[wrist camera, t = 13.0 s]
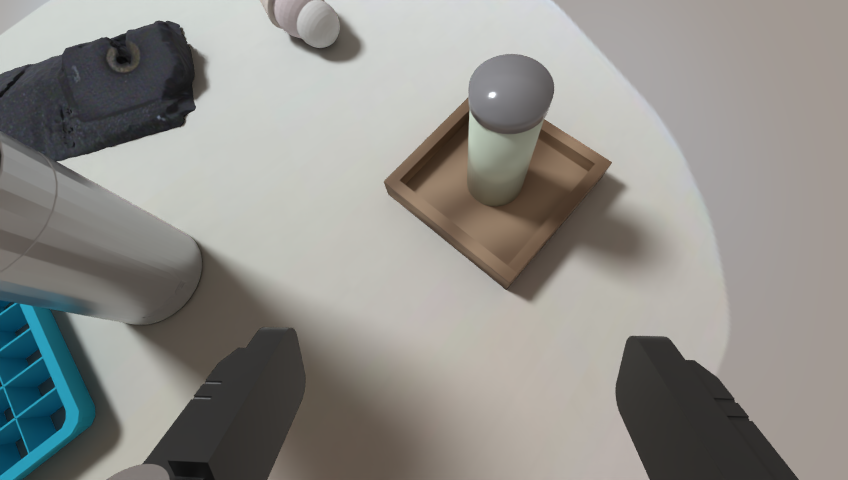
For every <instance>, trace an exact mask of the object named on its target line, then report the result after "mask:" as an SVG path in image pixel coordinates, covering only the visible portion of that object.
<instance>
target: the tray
mask: <svg viewBox="0 0 848 480" xmlns="http://www.w3.org/2000/svg"><path fill="white" fill-rule="evenodd" d="M469 111H470V109H469V104H468V98H467V99H466V100H465V101H464V102H463V103H462V104H461V105H460V106H459V107H458V108H457V109H456V110H455V111H454V112H453V113H452V114H451V115H450V116H449V117H448V118H447V119H446V120H445V121H444V122H443V123H442V124H441V125H440V126H439V127H438V128H437V129H436V130H435V131H434V132H433V133H432V134H431V135H430V136H429V137H428V138H427V139H426V140H425V141H424V142H423V143H422V144H421V145H420V146H419V147H418V148H417V149H416V150H415V151H414V152H413V153H412V154H411V155H410V156H409V157H408V158H407V159H406V160H405V161H404V162H403V163H402V164H401V165H400V166H399V167H398V168H397V169H396V170H395V171H394V172H393V173H392V174H391V175H390V176H389V177H388V178H387V179H386V180H385V181H384V184H385V187H386V189H387V192H388V194H389V195H390V196H391V197H392V198H394V199H395V200H396V201H397V202H399V203H400V204H401V205H402V206H404V207H405V208H406V209H407V210H409V211H410V212H411V213H412V214H413V215H415V216H416V217H417V218H418V219H420V220H421V221H422V222H423V223H425V224H426V225H427V226H428V227H429V228H431V229H432V230H433V231H434V232H436V233H437V234H438V235H439V236H441V237H442V238H443V239H444V240H445V241H447V242H448V243H449V244H450V245H452V246H453V247H454V248H455V249H457V250H458V251H459V252H460V253H462V254H463V255H464V256H465V257H466V258H468V259H469V260H470V261H471V262H473V263H474V264H475V265H476V266H478V267H479V268H480V269H481V270H482V271H484V272H485V273H486V274H487V275H489V276H490V277H491V278H492V279H494V280H495V281H496V282H497V283H498V284H500V285H501V286H502V287H503V288H505V289H506V290H507V288H508V287H509V286H510V285H511V284H512V282H513V281H514V280H515V279H516V278H517V277H518V275H519V274H520V273H521V272H522V271H523V269H524V268H525V267H526V266H527V265H528V264H529V262H530V261H531V260H532V259H533V258H534V256H535V255H536V254H537V253H538V252H539V251H540V249H541V248H542V247H543V246H544V245H545V244H546V242H547V241H548V240H549V239H550V238H551V236H552V235H553V234H554V233H555V232H556V231H557V229H558V228H559V227H560V226H561V225H562V223H563V222H564V221H565V220H566V219H567V218H568V216H569V215H570V214H571V213H572V212H573V211H574V209H575V208H576V207H577V206H578V205H579V203H580V202H581V201H582V200H583V199H584V198H585V196H586V195H587V194H588V193H589V192H590V190H591V189H592V188H593V187H594V186H595V185H596V183H597V182H598V181H599V180H600V179H601V178H602V176H603V175H604V173H605V172H606V170H607V169H608V168H609V166H610V165H611V163H612V162H611V161H609V160H608V159H606V158H604V157H603V156H601V155H600V154H598V153H596V152H595V151H593V150H592V149H590V148H589V147H587V146H585V145H584V144H582V143H581V142H579V141H578V140H576V139H574V138H573V137H571V136H570V135H568V134H567V133H565V132H563V131H562V130H560V129H559V128H557V127H556V126H554V125H552V124H551V123H549V122H548V121H546V120H545V119H544V121H543V124H542V127H541V130H540V133H539V136H538V139H537V142H536V146H535V149H534V152H533V155H532V158H531V161H530V164H529V167H528V170H527V174H526V177H525V180H524V183H523V186H522V189H521V192H520V193H519V195H518V196H517V198H515V199H514V200H513V201H512V202H510V203H508V204H506V205H503V206H488V205H484V204H482V203H480V202H478V201H477V200H476V199H475V198H474V197H473V196H472V195H471V194H470V192H469V190H468V187H467V164H468V137H469Z"/></svg>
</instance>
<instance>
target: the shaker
mask: <svg viewBox="0 0 848 480" xmlns="http://www.w3.org/2000/svg"><path fill="white" fill-rule="evenodd" d="M553 94H554V82H553V79H552V77H551V75H550V73H549V71H548V70H547V69H546V68H545V67H544V66H543V65H542V64H541V63H539V62H538V61H536V60H534V59H532V58H530V57H527V56H523V55H517V54H506V55H500V56H496V57H493V58H491V59H489V60H487V61H485V62H484V63H482V64H481V65H480V66H479V67H478V68H477V69H476V70H475V71H474V73H473V74H472V76H471V79H470V82H469V96H468V104H469V109H470V111H469V137H468V164H467V187H468V190H469V192H470V194H471V195H472V196H473V197H474V198H475V199H476V200H477V201H478V202H480V203H482V204H484V205H488V206H503V205H506V204H508V203H510V202H512V201H513V200H514V199H515V198H517V196H518V195H519V193H520V192H521V189H522V186H523V183H524V180H525V177H526V174H527V170H528V167H529V164H530V161H531V158H532V155H533V152H534V149H535V146H536V142H537V139H538V136H539V133H540V130H541V127H542V124H543V121H544V118H545V116H546V115H547V113H548V110H549V107H550V104H551V101H552V98H553Z"/></svg>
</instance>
